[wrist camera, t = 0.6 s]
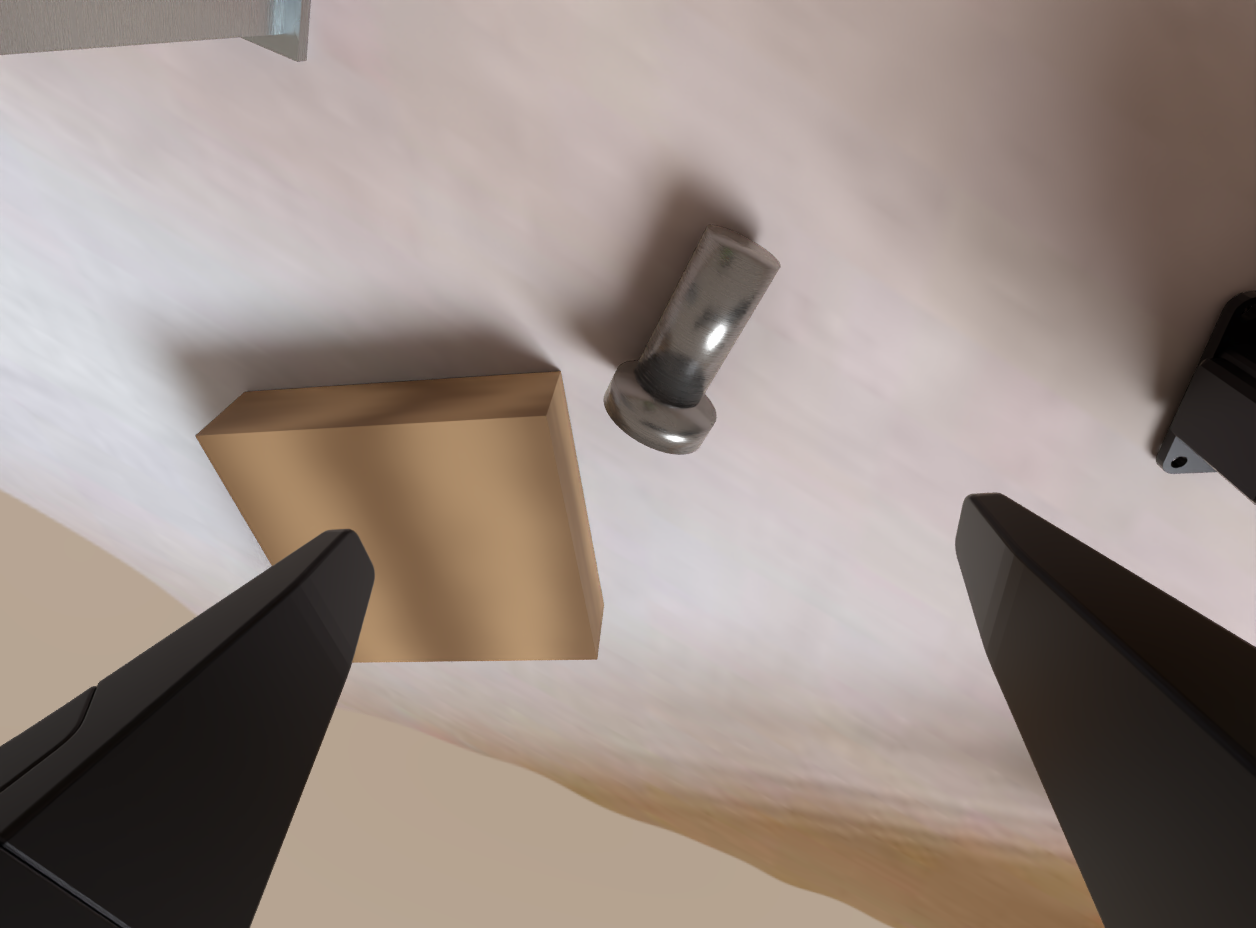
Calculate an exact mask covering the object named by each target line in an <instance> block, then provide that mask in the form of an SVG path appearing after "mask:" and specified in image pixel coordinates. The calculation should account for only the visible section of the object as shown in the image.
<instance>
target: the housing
mask: <svg viewBox="0 0 1256 928" xmlns="http://www.w3.org/2000/svg"><path fill="white" fill-rule="evenodd" d="M310 4H311V0H0V55H7V54H21V53H34V52H48V51H61V50H75V49H89V48H102V47H116V46H129V45H143V44H156V43H170V42H183V41H197V40H211V39H224V38H238V37H241V38H243V39H245V40H248V41H250V42H252V43H255V44H257V45H259V46H262V47H264V48H266V49H269V50H271V51H273V52H276V53H278V54H280V55H283V56H285V57H288V58H290V59H292V60H295V61H297V62H300V61H306V60H307V46H308V32H309V18H310Z"/></svg>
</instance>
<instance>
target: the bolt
mask: <svg viewBox="0 0 1256 928" xmlns="http://www.w3.org/2000/svg"><path fill="white" fill-rule="evenodd" d="M779 268H780V263H779V261H778V260H777V259H776V258H775V257H774V256H773V255H772V254H771V253H770V252H768V251H767V250H766V249H764V248H763V247H761V246H760V245H758V244H757V243H755V242H754V241H752V240H750V239H748V238H747V237H745V236H743V235H741V234H739V233H737V232H734V231H732V230H730V229H727V228H724V227H721V226H717V225H708V226H707V228H706V230H705V232H704V234H703V236H702V238H701V239H700V241H699V243H698V245H697V247H696V249H695V251H694V253H693V255H692V257H691V259H690V261H689V263H688V265H687V267H686V269H685V271H684V273H683V275H682V277H681V279H680V281H679V283H678V285H677V287H676V289H675V291H674V293H673V295H672V297H671V299H670V301H669V302H668V304H667V306H666V308H665V310H664V312H663V314H662V316H661V318H660V320H659V322H658V324H657V326H656V328H655V330H654V332H653V334H652V336H651V338H650V340H649V342H648V344H647V346H646V348H645V350H644V352H643V354H642V356H641V358H640V360H639V361H628V362H625V363H623V364H621V365H620V366H619V367H618V368H617V370H616V372H615V374H614V376H613V378H612V380H611V382H610V384H609V386H608V388H607V390H606V393H605V395H604V406H605V408H606V411H607V413H608V414H609V416H610V417H611V419H612V420H613V421H614V422H615V424H616V425H617V426H618V427H619V428H620V429H622V430H623V431H624V432H625V433H626V434H628V435H629V436H630V437H632V438H633V439H635V440H637V441H638V442H640V443H642V444H644V445H646V446H648V447H650V448H653V449H655V450H658V451H661V452H665V453H670V454H678V455H680V454H689V453H692V452H694V451H696V450H697V449H698V448H699V447H700V446H701V444H702V442H703V441H704V439H705V438H706V436H707V434H708V433H709V431H710V430H711V428H712V427H713V425H714V423H715V422H716V411H715V408H714V406H713V404H712V403H711V401H710V400H709V398H708V397H707V396H706V395H705V392H706V390H707V389H708V387H709V385H710V384H711V382H712V380H713V379H714V377H715V375H716V374H717V372H718V370H719V369H720V367H721V365H722V364H723V362H724V360H725V359H726V357H727V355H728V354H729V352H730V350H731V349H732V347H733V345H734V344H735V342H736V340H737V339H738V337H739V335H740V334H741V332H742V330H743V329H744V327H745V325H746V324H747V322H748V320H749V319H750V317H751V315H752V314H753V312H754V310H755V309H756V307H757V305H758V304H759V302H760V300H761V299H762V297H763V295H764V294H765V292H766V290H767V289H768V287H769V285H770V283H771V282H772V280H773V278H774V277H775V275H776V273H777V272H778V270H779Z"/></svg>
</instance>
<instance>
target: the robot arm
mask: <svg viewBox="0 0 1256 928" xmlns="http://www.w3.org/2000/svg"><path fill="white" fill-rule="evenodd" d="M1250 305H1251V308H1250V309H1249V310H1248V311H1247V312H1246V313H1244V314H1242V312H1243V311H1244V310H1245V309H1246V308H1247V307H1249V306H1250ZM1177 457H1178V458H1177ZM1175 458H1177V459H1176V460H1174V459H1175ZM1173 460H1174V461H1173ZM1156 462H1157V464H1158V465H1159V466H1160V467H1161V468H1162V469H1163V470H1164V471H1165V472H1167V473H1171V474H1180V473H1204V472H1218V473H1219V474H1220V475H1221V476H1223V477H1224V478H1225V479H1226V480H1227V481H1228V482H1230V483H1231V484H1232V485H1233V486H1234V487H1235V488H1236V489H1238V490H1239V491H1240V492H1241V493H1242V494H1243V495H1244V496H1246V497H1247V498H1248V499H1249V500H1250V501H1251V502H1253V503H1254V504H1255V505H1256V291H1249V292H1244V293H1241V294H1239V295H1237V296H1235V297H1234V298H1232V299H1231V300H1230V301H1229V302H1228V303H1227V304H1226V306H1225V307H1224V309H1223V311H1222V313H1221V316H1220V318H1219V320H1218V322H1217V324H1216V327H1215V329H1214V331H1213V333H1212V335H1211V338H1210V340H1209V342H1208V344H1207V346H1206V349H1205V351H1204V353H1203V355H1202V357H1201V360H1200V362H1199V364H1198V366H1197V368H1196V371H1195V373H1194V375H1193V377H1192V379H1191V382H1190V384H1189V386H1188V388H1187V391H1186V393H1185V395H1184V397H1183V399H1182V402H1181V404H1180V406H1179V408H1178V410H1177V413H1176V415H1175V417H1174V419H1173V421H1172V424H1171V426H1170V428H1169V430H1168V432H1167V435H1166V437H1165V439H1164V441H1163V443H1162V446H1161V448H1160V450H1159V452H1158V454H1157V457H1156ZM955 549H956V555H957V559H958V562H959V565H960V569H961V572H962V576H963V579H964V582H965V586H966V589H967V592H968V596H969V599H970V603H971V606H972V609H973V613H974V616H975V619H976V623H977V626H978V629H979V633H980V636H981V639H982V642H983V646H984V649H985V652H986V654H987V657H988V659H989V662H990V664H991V667H992V669H993V672H994V674H995V676H996V679H997V681H998V683H999V685H1000V688H1001V690H1002V692H1003V695H1004V697H1005V699H1006V702H1007V704H1008V706H1009V708H1010V711H1011V713H1012V715H1013V718H1014V720H1015V722H1016V725H1017V727H1018V729H1019V731H1020V734H1021V736H1022V738H1023V741H1024V743H1025V745H1026V747H1027V750H1028V752H1029V754H1030V757H1031V759H1032V761H1033V764H1034V766H1035V768H1036V770H1037V773H1038V775H1039V777H1040V780H1041V782H1042V784H1043V787H1044V789H1045V791H1046V793H1047V796H1048V798H1049V800H1050V803H1051V805H1052V807H1053V810H1054V812H1055V814H1056V816H1057V819H1058V821H1059V823H1060V826H1061V828H1062V830H1063V832H1064V835H1065V837H1066V839H1067V842H1068V844H1069V846H1070V849H1071V851H1072V853H1073V855H1074V858H1075V860H1076V862H1077V865H1078V867H1079V869H1080V872H1081V874H1082V876H1083V878H1084V881H1085V883H1086V885H1087V888H1088V890H1089V892H1090V895H1091V897H1092V899H1093V901H1094V904H1095V906H1096V908H1097V911H1098V913H1099V915H1100V917H1101V920H1102V922H1103V924H1104V927H1105V928H1256V647H1255V646H1253V645H1251V644H1250V643H1248V642H1246V641H1245V640H1243V639H1241V638H1240V637H1238V636H1236V635H1235V634H1233V633H1231V632H1230V631H1228V630H1227V629H1225V628H1223V627H1222V626H1220V625H1218V624H1217V623H1215V622H1213V621H1212V620H1210V619H1208V618H1207V617H1205V616H1203V615H1202V614H1200V613H1198V612H1197V611H1195V610H1193V609H1192V608H1190V607H1188V606H1187V605H1185V604H1184V603H1182V602H1180V601H1179V600H1177V599H1175V598H1174V597H1172V596H1170V595H1169V594H1167V593H1165V592H1164V591H1162V590H1160V589H1159V588H1157V587H1155V586H1154V585H1152V584H1150V583H1149V582H1147V581H1145V580H1144V579H1142V578H1141V577H1139V576H1137V575H1136V574H1134V573H1132V572H1131V571H1129V570H1127V569H1126V568H1124V567H1122V566H1121V565H1119V564H1117V563H1116V562H1114V561H1112V560H1111V559H1109V558H1107V557H1106V556H1104V555H1103V554H1101V553H1099V552H1098V551H1096V550H1094V549H1093V548H1091V547H1089V546H1088V545H1086V544H1084V543H1083V542H1081V541H1079V540H1078V539H1076V538H1074V537H1073V536H1071V535H1069V534H1068V533H1066V532H1064V531H1063V530H1061V529H1060V528H1058V527H1056V526H1055V525H1053V524H1051V523H1050V522H1048V521H1046V520H1045V519H1043V518H1041V517H1040V516H1038V515H1036V514H1035V513H1033V512H1031V511H1030V510H1028V509H1026V508H1025V507H1023V506H1022V505H1020V504H1018V503H1017V502H1015V501H1013V500H1012V499H1010V498H1008V497H1007V496H1005V495H1003V494H1001V493H977V494H970V495H968V496H967V497H966V498H965V500H964V502H963V505H962V510H961V515H960V520H959V524H958V529H957V534H956V539H955ZM374 580H375V570H374V566H373V564H372V562H371V560H370V558H369V556H368V554H367V552H366V550H365V548H364V546H363V544H362V542H361V540H360V538H359V536H358V534H357V533H356V532H355V531H354V530H351V529H333V530H327V531H324V532H323V533H321V534H320V535H318V536H317V537H315V538H314V539H312V540H311V541H309V542H308V543H306V544H305V545H303V546H302V547H300V548H299V549H297V550H296V551H294V552H293V553H291V554H290V555H288V556H287V557H285V558H284V559H282V560H281V561H279V562H278V563H276V564H275V565H273V566H272V567H270V568H269V569H267V570H266V571H264V572H263V573H261V574H260V575H258V576H257V577H255V578H254V579H252V580H251V581H249V582H248V583H246V584H245V585H243V586H242V587H240V588H239V589H237V590H236V591H234V592H233V593H231V594H230V595H228V596H227V597H225V598H224V599H222V600H221V601H219V602H218V603H216V604H215V605H213V606H212V607H210V608H209V609H207V610H206V611H204V612H203V613H201V614H200V615H198V616H197V617H195V618H194V619H193V620H191V621H190V622H188V623H187V624H185V625H184V626H182V627H181V628H179V629H178V630H176V631H175V632H173V633H172V634H170V635H169V636H167V637H166V638H164V639H163V640H161V641H160V642H158V643H157V644H155V645H154V646H152V647H151V648H149V649H148V650H146V651H145V652H143V653H142V654H140V655H139V656H137V657H136V658H134V659H133V660H131V661H130V662H128V663H127V664H125V665H124V666H122V667H121V668H119V669H118V670H117V671H115V672H113V673H112V674H110V675H109V676H107V677H106V678H105V679H103V680H101V681H100V682H99V683H98V685H97V686H93V687H91V688H89V689H88V690H86V691H85V692H83V693H82V694H80V695H79V696H77V697H76V698H74V699H73V700H71V701H70V702H68V703H67V704H65V705H64V706H63V707H61V708H59V709H58V710H56V711H55V712H53V713H52V714H50V715H48V716H47V717H45V718H44V719H42V720H41V721H39V722H38V723H36V724H35V725H33V726H32V727H30V728H29V729H27V730H25V731H24V732H22V733H21V734H19V735H18V736H16V737H14V738H13V739H11V740H10V741H8V742H6V743H5V744H3V745H2V746H0V928H250V926H251V924H252V921H253V918H254V916H255V913H256V911H257V908H258V906H259V903H260V900H261V898H262V895H263V892H264V890H265V888H266V885H267V882H268V880H269V877H270V875H271V872H272V870H273V867H274V864H275V862H276V859H277V857H278V854H279V852H280V849H281V846H282V844H283V841H284V839H285V836H286V833H287V831H288V828H289V826H290V823H291V821H292V818H293V815H294V813H295V810H296V808H297V805H298V803H299V800H300V797H301V795H302V792H303V789H304V787H305V784H306V782H307V779H308V777H309V774H310V772H311V769H312V767H313V764H314V761H315V759H316V756H317V754H318V751H319V749H320V746H321V743H322V741H323V738H324V736H325V733H326V730H327V728H328V725H329V723H330V720H331V718H332V715H333V713H334V710H335V707H336V705H337V702H338V700H339V697H340V695H341V692H342V689H343V687H344V684H345V682H346V679H347V676H348V673H349V670H350V668H351V664H352V661H353V658H354V655H355V651H356V647H357V644H358V640H359V636H360V633H361V629H362V625H363V622H364V618H365V614H366V611H367V607H368V603H369V599H370V596H371V592H372V588H373V585H374Z"/></svg>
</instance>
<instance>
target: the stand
mask: <svg viewBox="0 0 1256 928" xmlns="http://www.w3.org/2000/svg"><path fill="white" fill-rule="evenodd" d="M196 438H197V440H198V441H199V443H200V445H201V446H202V448H203V450H204V451H205V453H206V455H207V457H208V458H209V460H210V462H211V463H212V465H213V467H214V468H215V470H216V472H217V473H218V475H219V477H220V479H221V480H222V482H223V484H224V485H225V487H226V489H227V490H228V492H229V494H230V495H231V497H232V499H233V501H234V502H235V504H236V506H237V507H238V509H239V511H240V512H241V514H242V516H243V517H244V519H245V521H246V522H247V524H248V526H249V528H250V529H251V531H252V533H253V534H254V536H255V538H256V539H257V541H258V543H259V544H260V546H261V548H262V550H263V551H264V553H265V555H266V556H267V558H268V560H269V561H270V563H271V565H272V566H273V565H275V564H276V563H278V562H279V561H281V560H282V559H284V558H285V557H287V556H288V555H290V554H291V553H293V552H294V551H296V550H297V549H299V548H300V547H302V546H303V545H305V544H306V543H308V542H309V541H311V540H312V539H314V538H315V537H317V536H318V535H320V534H321V533H323V532H324V531H327V530H333V529H351V530H354V531H355V532H356V533H357V534H358V536H359V538H360V540H361V542H362V544H363V546H364V548H365V550H366V552H367V554H368V556H369V558H370V560H371V562H372V564H373V566H374V570H375V580H374V585H373V588H372V592H371V596H370V599H369V603H368V607H367V611H366V614H365V618H364V622H363V625H362V629H361V633H360V636H359V640H358V644H357V647H356V651H355V655H354V658H353V661H352V663H354V662H433V661H512V660H592V659H597V657H598V649H599V641H600V633H601V625H602V617H603V609H604V603H603V597H602V592H601V586H600V581H599V575H598V570H597V565H596V559H595V554H594V548H593V543H592V538H591V532H590V527H589V521H588V516H587V511H586V505H585V500H584V494H583V489H582V483H581V478H580V473H579V467H578V462H577V456H576V451H575V446H574V440H573V435H572V429H571V424H570V419H569V413H568V408H567V402H566V397H565V392H564V386H563V381H562V375H561V371H555V372H540V373H525V374H509V375H494V376H479V377H463V378H448V379H433V380H417V381H402V382H387V383H371V384H356V385H341V386H326V387H310V388H295V389H280V390H264V391H249V392H244V393H243V394H242V395H241V396H239V397H238V398H237V399H236V400H235V401H234V402H233V403H232V404H230V405H229V406H228V407H227V408H226V409H225V410H224V411H223V412H221V413H220V414H219V415H218V416H217V417H216V418H215V419H214V420H212V421H211V422H210V423H209V424H208V425H207V426H206V427H205V428H203V429H202V430H201V431H200V432H199V433H198V434H197V435H196Z"/></svg>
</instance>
